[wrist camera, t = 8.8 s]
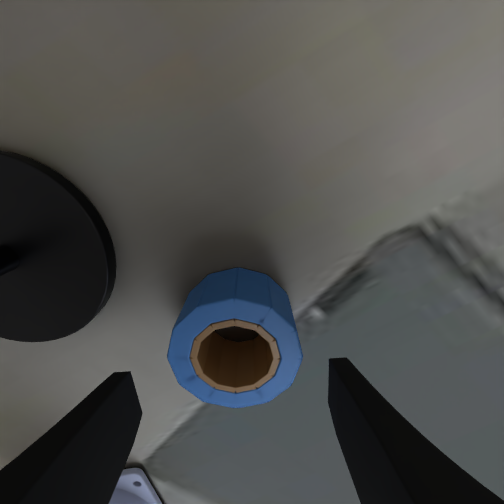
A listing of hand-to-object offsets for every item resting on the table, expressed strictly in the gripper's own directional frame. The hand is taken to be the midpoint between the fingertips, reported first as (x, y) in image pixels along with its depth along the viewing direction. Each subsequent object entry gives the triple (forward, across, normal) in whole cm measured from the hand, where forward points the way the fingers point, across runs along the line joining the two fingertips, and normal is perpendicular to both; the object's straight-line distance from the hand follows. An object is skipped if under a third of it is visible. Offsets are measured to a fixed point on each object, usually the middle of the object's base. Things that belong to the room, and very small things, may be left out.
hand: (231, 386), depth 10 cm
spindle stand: (+4, +10, -4) cm, 12 cm away
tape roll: (+4, 0, 0) cm, 4 cm away
